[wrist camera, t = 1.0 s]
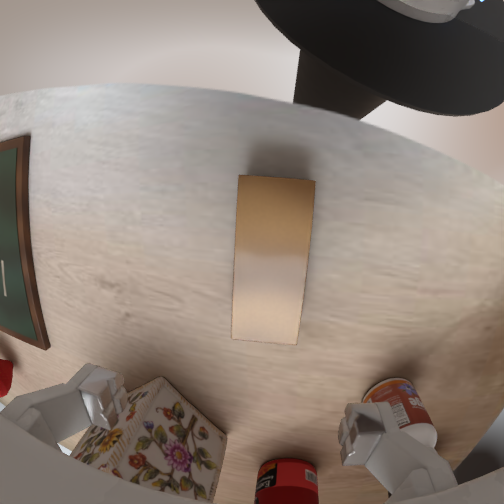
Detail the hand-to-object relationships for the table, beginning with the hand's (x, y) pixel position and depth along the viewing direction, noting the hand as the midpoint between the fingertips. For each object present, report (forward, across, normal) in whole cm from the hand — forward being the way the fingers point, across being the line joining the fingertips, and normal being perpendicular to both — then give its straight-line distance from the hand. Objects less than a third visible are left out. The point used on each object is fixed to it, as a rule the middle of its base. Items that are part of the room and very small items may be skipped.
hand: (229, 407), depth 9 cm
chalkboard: (+16, +36, +1) cm, 39 cm away
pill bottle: (+16, -15, +13) cm, 25 cm away
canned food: (+16, -6, +28) cm, 33 cm away
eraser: (+16, -1, -2) cm, 16 cm away
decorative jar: (+16, +10, +20) cm, 28 cm away
